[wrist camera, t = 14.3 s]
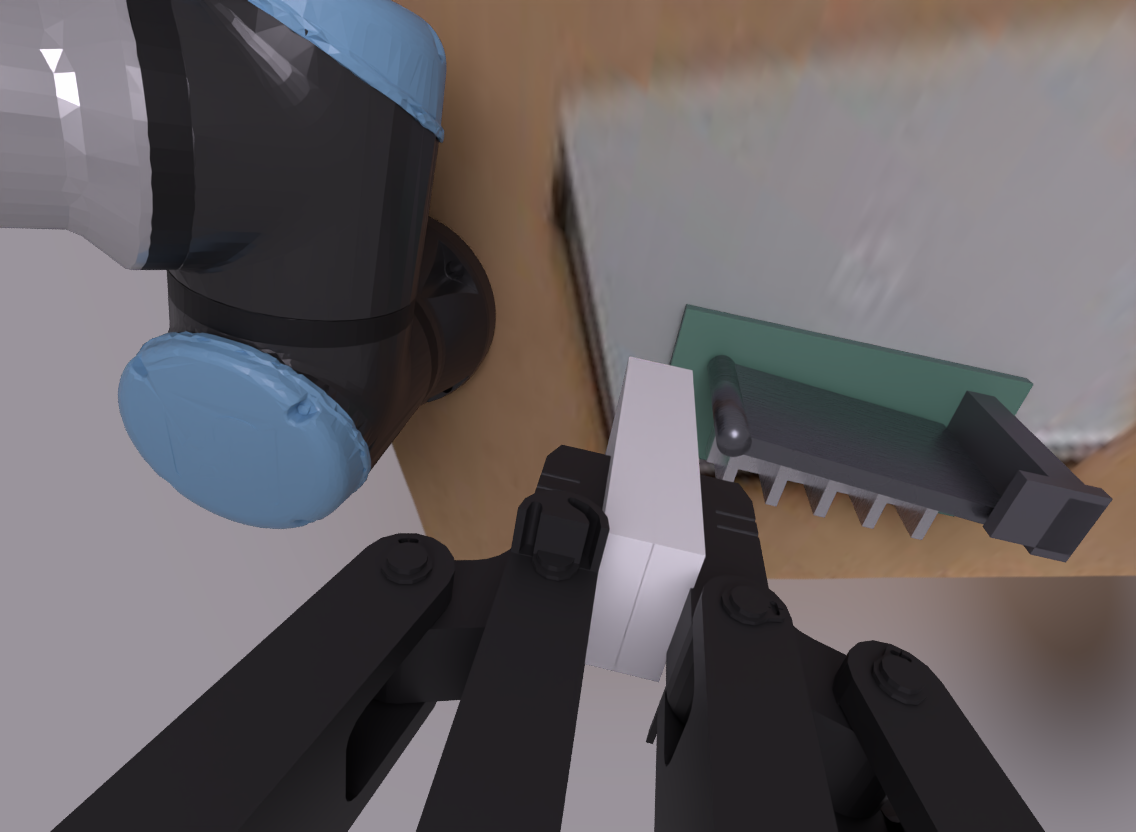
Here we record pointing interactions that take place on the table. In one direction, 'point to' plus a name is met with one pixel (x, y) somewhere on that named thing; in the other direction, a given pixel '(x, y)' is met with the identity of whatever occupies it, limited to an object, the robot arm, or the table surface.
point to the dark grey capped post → (1025, 481)
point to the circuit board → (832, 368)
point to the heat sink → (818, 490)
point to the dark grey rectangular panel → (845, 441)
